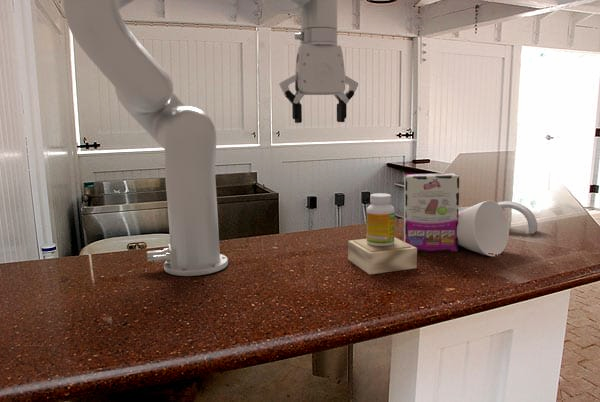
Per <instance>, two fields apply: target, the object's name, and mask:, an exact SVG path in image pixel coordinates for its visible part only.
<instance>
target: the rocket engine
mask: <svg viewBox="0 0 600 402" xmlns="http://www.w3.org/2000/svg"><path fill="white" fill-rule="evenodd" d="M468 207H469V208H467V209H465V210H463V211H461V212H460V213H458V225H457V237H458V247H462V248H464V249H466V250H469V251H472V252H475V253H477V254H480V255H484V256H488V257H496V256H495V255H491V254H490V255H489V254H488V253H493V254H497V256H499V255H500V254H501V253H503V251H504V250H505V249H506V248H507V247H506V246H507V244H508V241H509V237H510V225H509V221H508V216H507V214H506V211H505V210H504V208H502V207H501V206H500V205H499V204H498V202H496V201H494V200H484V201H481V202H479V203H477V204H475V205H472V206H468ZM498 254H499V255H498Z"/></svg>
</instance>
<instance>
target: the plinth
mask: <svg viewBox="0 0 600 402" xmlns="http://www.w3.org/2000/svg"><path fill="white" fill-rule="evenodd" d="M347 255H348V256H347V258H348V259H347V260H348V261H350V263H352V264H354V265H355V266H356V267H358V268H359V269H361V270H363V272H365V273H367V274H368V275H375V274H383V273H389V272H390V273H391V272H398V271H404V270H411V269H417V268H418V266H417V265H418V263H417V262H418V261H417V260H418V251H417V248H416V247H414V246H412V245H410V244H408V243H406V242H404V240H402V239H399V238H397V237H396V236H394V244H393V245H390V246H372V245H370V244H368V243H367V238H360V239H353V240H348V241H347Z"/></svg>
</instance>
